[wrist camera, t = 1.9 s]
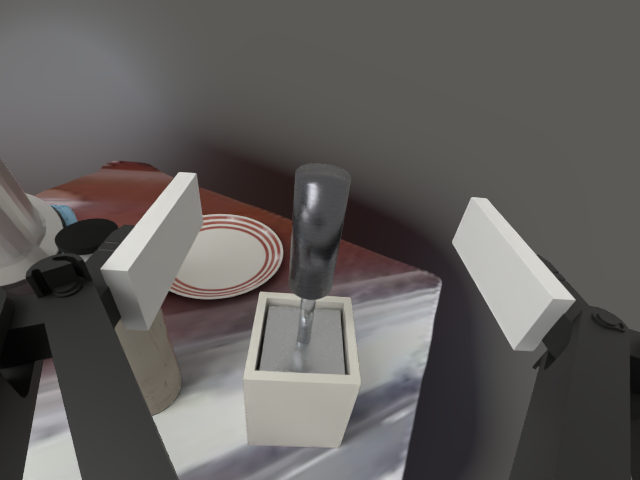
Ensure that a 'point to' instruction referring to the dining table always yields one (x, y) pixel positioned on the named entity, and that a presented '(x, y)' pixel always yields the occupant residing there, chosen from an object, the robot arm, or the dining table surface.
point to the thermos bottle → (139, 345)
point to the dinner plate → (228, 258)
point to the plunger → (310, 278)
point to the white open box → (299, 386)
